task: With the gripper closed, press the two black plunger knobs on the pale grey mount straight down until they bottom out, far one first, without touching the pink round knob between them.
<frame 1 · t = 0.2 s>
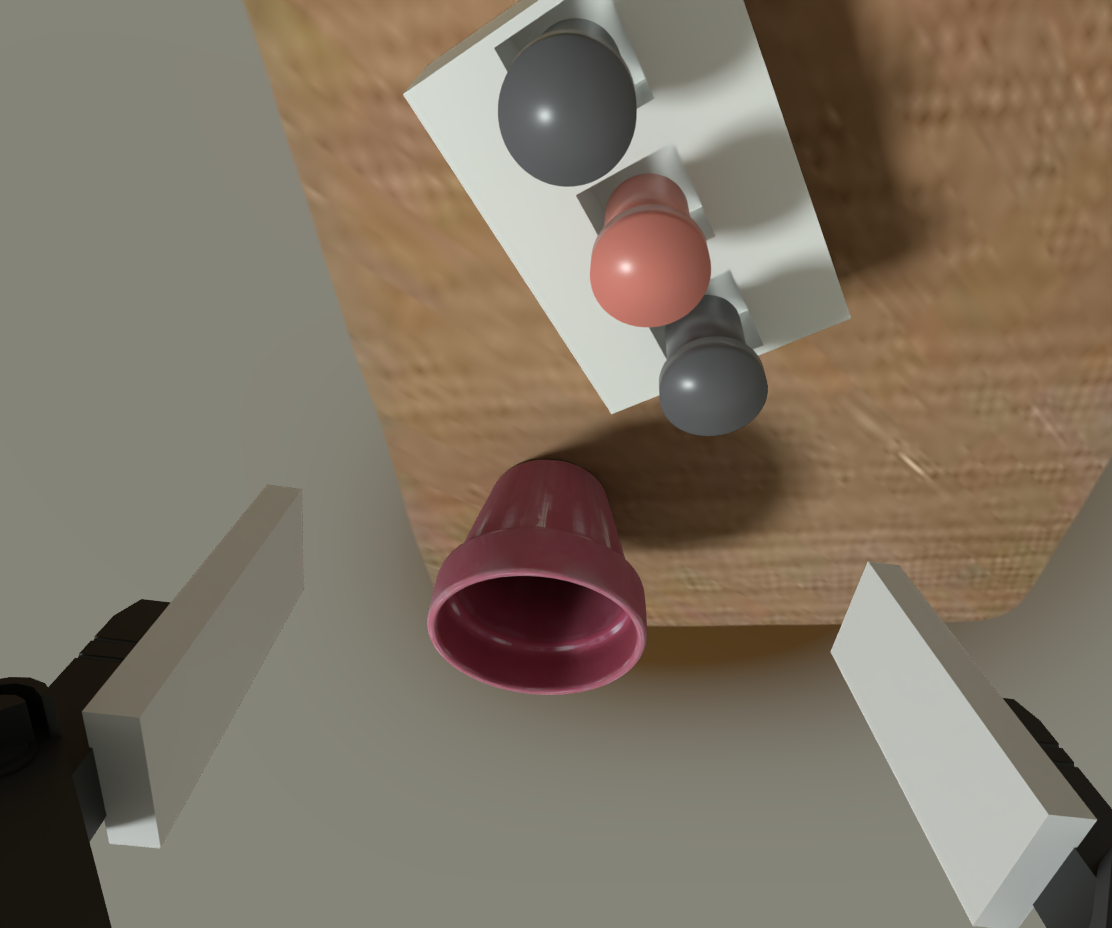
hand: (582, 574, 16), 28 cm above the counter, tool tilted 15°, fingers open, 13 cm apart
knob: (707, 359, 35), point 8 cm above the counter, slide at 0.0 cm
pink round knob: (648, 243, 31), point 8 cm above the counter, slide at 0.0 cm
plant pot: (551, 498, 54), on the counter
mount: (644, 177, 37), on the counter
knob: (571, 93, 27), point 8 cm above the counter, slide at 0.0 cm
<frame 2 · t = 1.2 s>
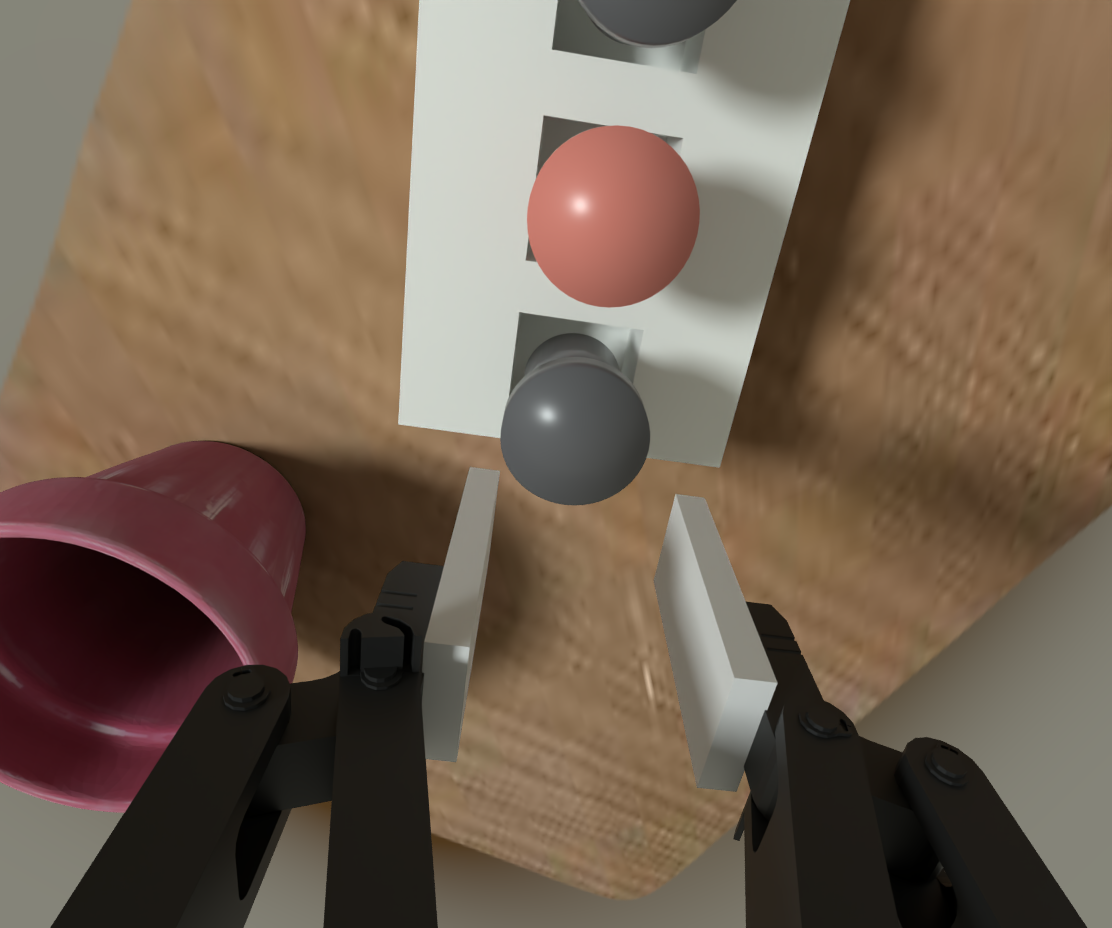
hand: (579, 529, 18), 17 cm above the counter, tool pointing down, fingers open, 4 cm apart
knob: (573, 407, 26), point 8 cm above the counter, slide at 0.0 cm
pink round knob: (606, 210, 23), point 8 cm above the counter, slide at 0.0 cm
plant pot: (225, 513, 37), on the counter
mount: (595, 190, 30), on the counter
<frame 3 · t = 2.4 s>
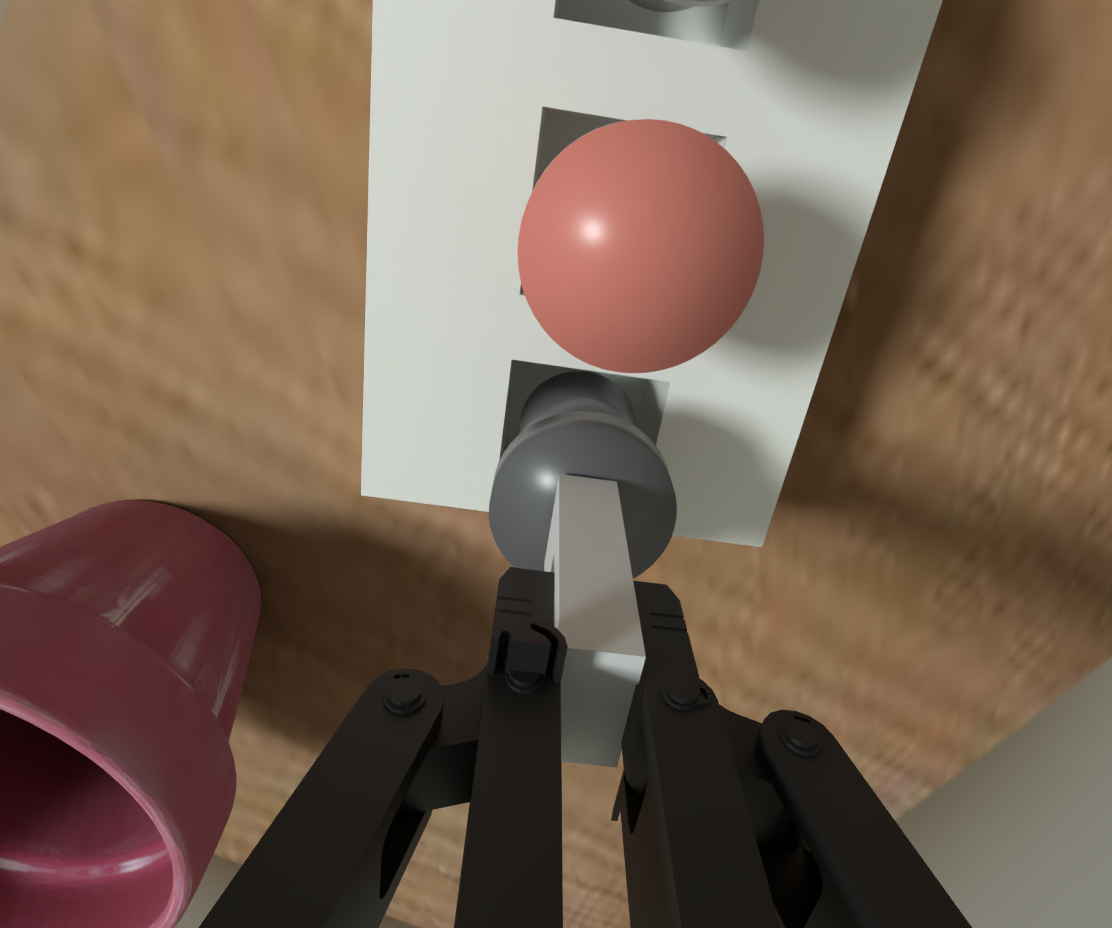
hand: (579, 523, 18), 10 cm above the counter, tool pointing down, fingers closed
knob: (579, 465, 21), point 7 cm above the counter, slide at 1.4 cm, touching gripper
pink round knob: (627, 235, 17), point 8 cm above the counter, slide at 0.0 cm
plant pot: (166, 582, 31), on the counter
mount: (607, 201, 24), on the counter
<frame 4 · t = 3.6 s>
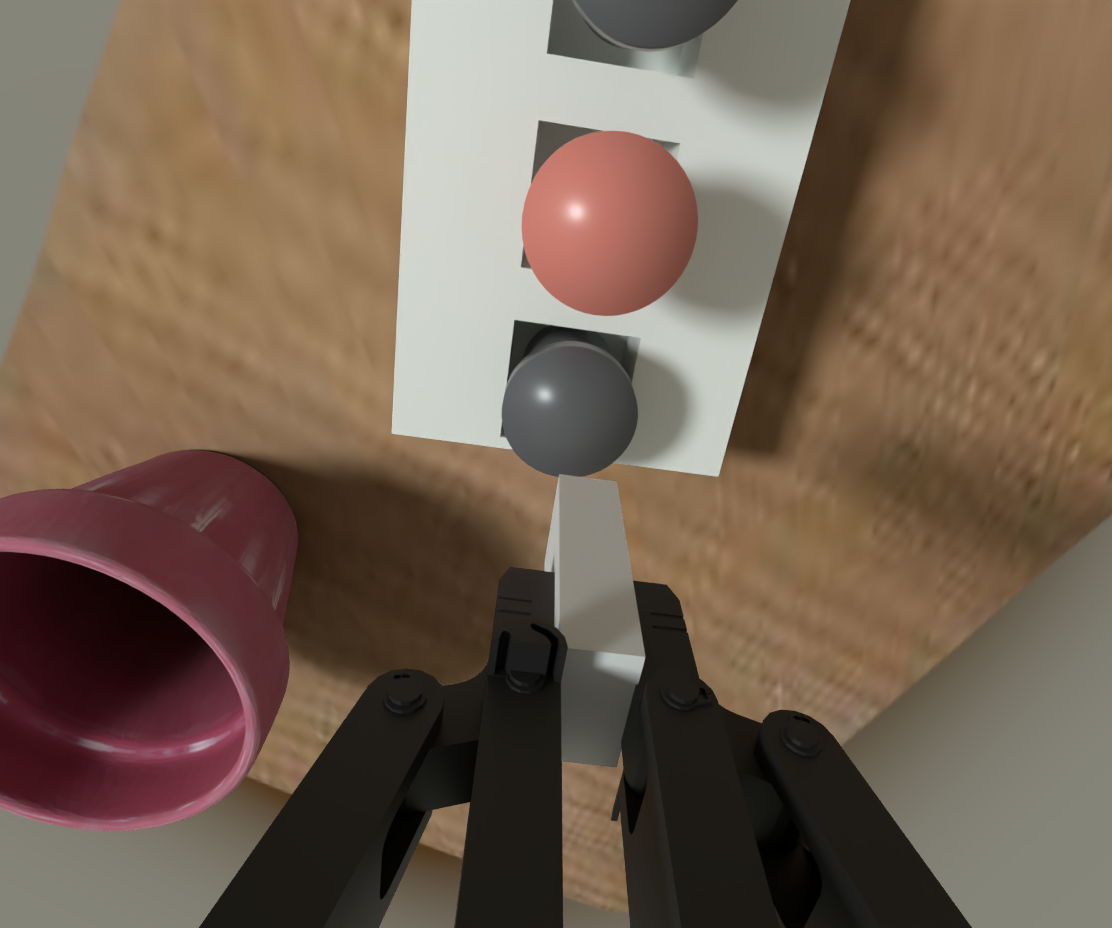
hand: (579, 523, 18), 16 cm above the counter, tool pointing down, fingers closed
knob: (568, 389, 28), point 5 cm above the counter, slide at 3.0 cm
pink round knob: (602, 216, 22), point 8 cm above the counter, slide at 0.0 cm
plant pot: (216, 523, 37), on the counter
mount: (591, 196, 29), on the counter
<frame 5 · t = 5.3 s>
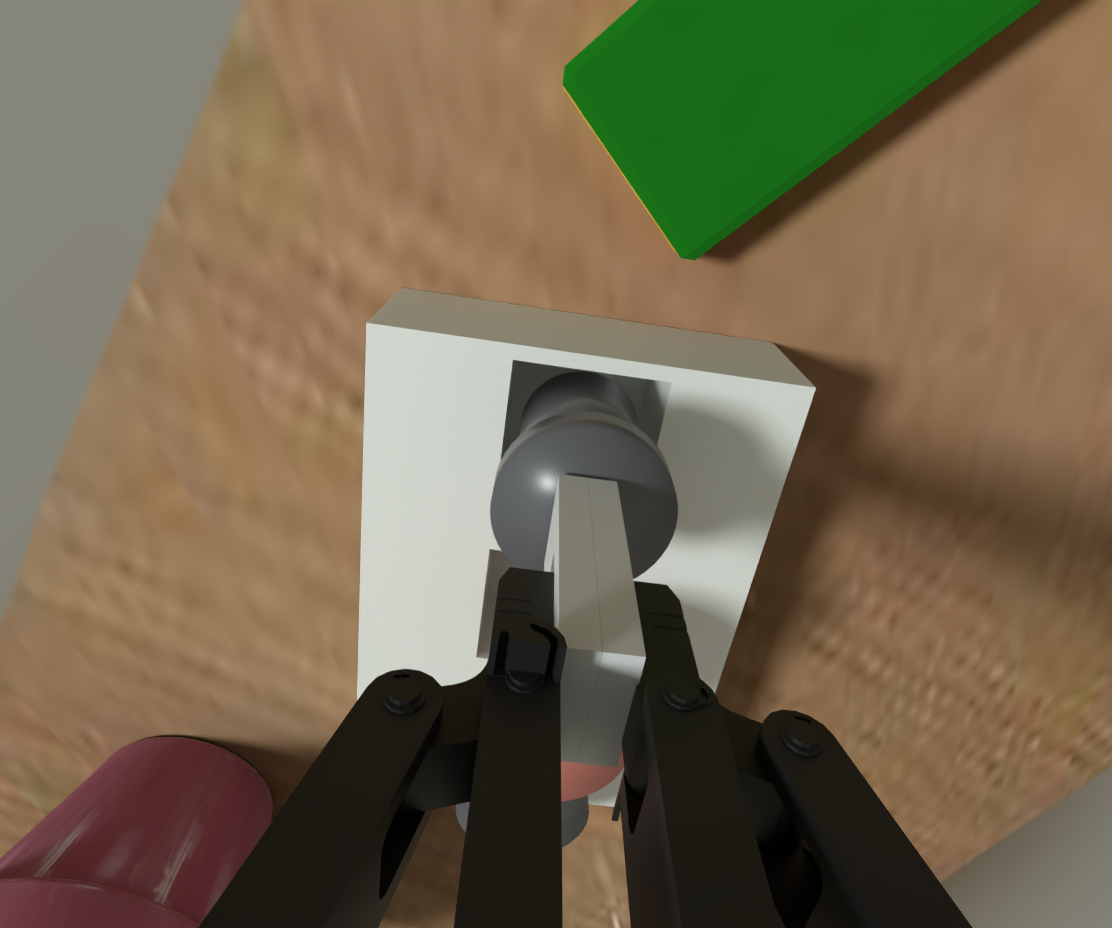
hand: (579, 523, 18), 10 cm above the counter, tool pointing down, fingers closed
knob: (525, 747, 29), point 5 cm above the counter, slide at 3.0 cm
pink round knob: (548, 671, 23), point 8 cm above the counter, slide at 0.0 cm
plant pot: (193, 790, 38), on the counter
mount: (551, 540, 30), on the counter
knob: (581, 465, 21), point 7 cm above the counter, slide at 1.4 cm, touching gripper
dish sponge: (794, 28, 22), on the counter
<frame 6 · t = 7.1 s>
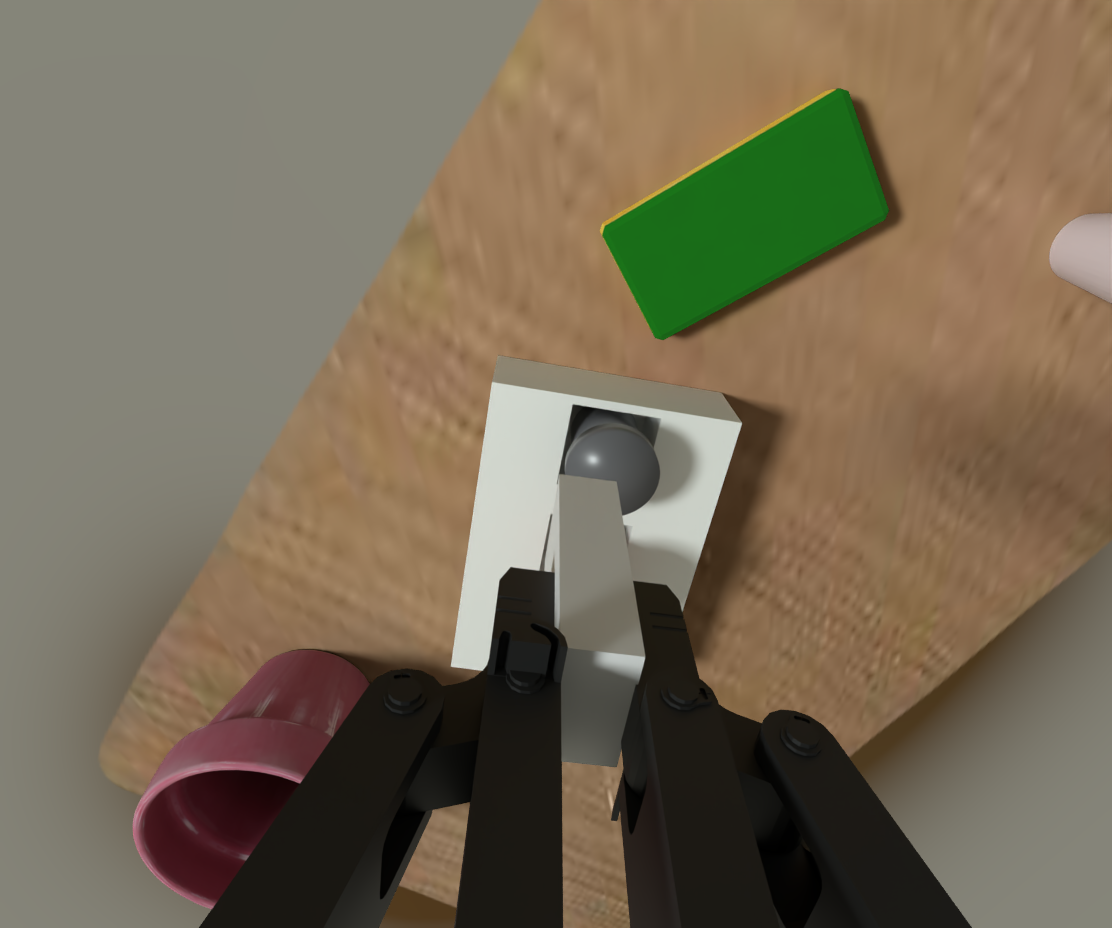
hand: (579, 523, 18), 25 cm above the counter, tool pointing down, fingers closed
smoothie: (1080, 247, 40), on the counter
plant pot: (316, 692, 53), on the counter
mount: (580, 514, 46), on the counter
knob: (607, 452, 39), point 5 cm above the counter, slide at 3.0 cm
dish sponge: (733, 218, 39), on the counter
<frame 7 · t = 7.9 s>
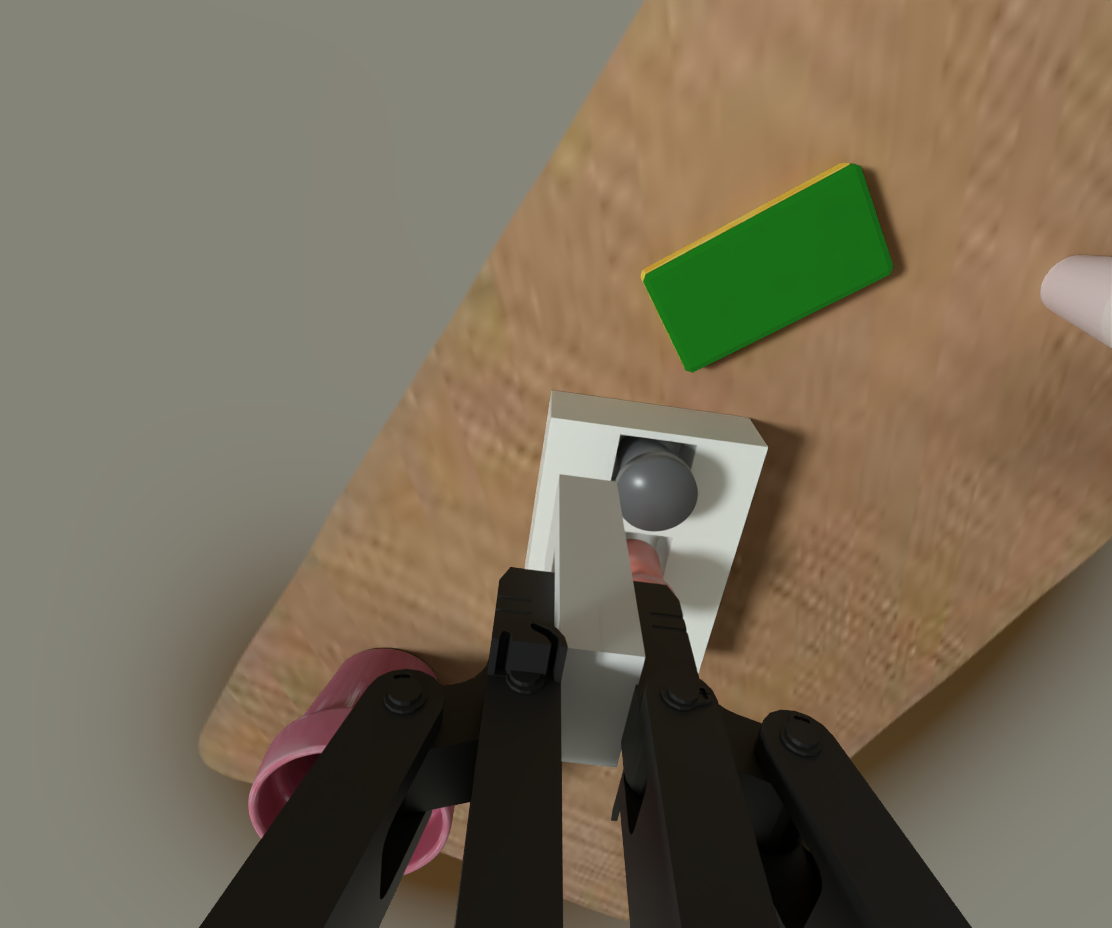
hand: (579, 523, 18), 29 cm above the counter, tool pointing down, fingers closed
smoothie: (1068, 283, 45), on the counter
pink round knob: (634, 589, 45), point 8 cm above the counter, slide at 0.0 cm
plant pot: (390, 686, 60), on the counter
mount: (624, 526, 52), on the counter
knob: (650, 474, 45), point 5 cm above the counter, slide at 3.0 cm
dish sponge: (757, 267, 45), on the counter
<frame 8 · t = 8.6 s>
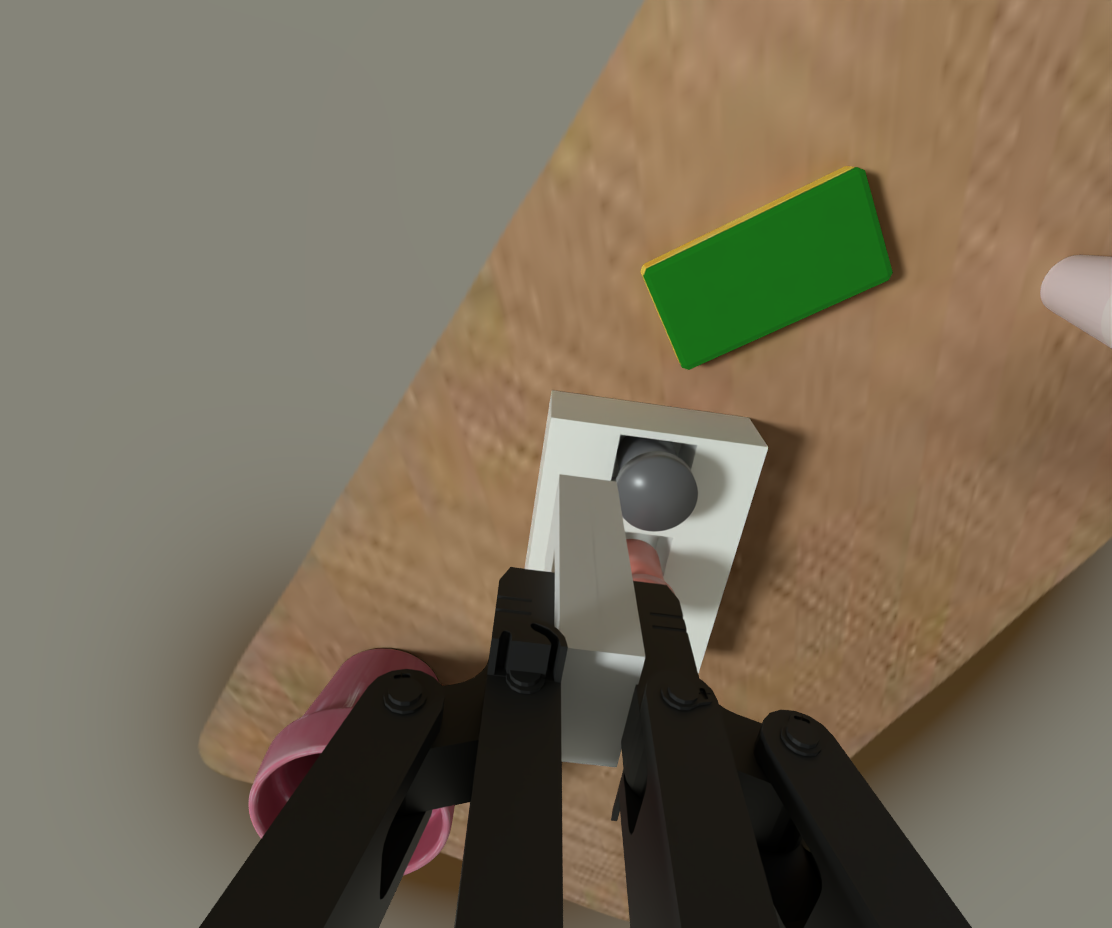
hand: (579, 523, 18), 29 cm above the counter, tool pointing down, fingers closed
smoothie: (1068, 283, 45), on the counter
pink round knob: (634, 589, 45), point 8 cm above the counter, slide at 0.0 cm
plant pot: (390, 686, 60), on the counter
mount: (624, 526, 52), on the counter
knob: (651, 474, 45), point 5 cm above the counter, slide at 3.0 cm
dish sponge: (757, 267, 45), on the counter
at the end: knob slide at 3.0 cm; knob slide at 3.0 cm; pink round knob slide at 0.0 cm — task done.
